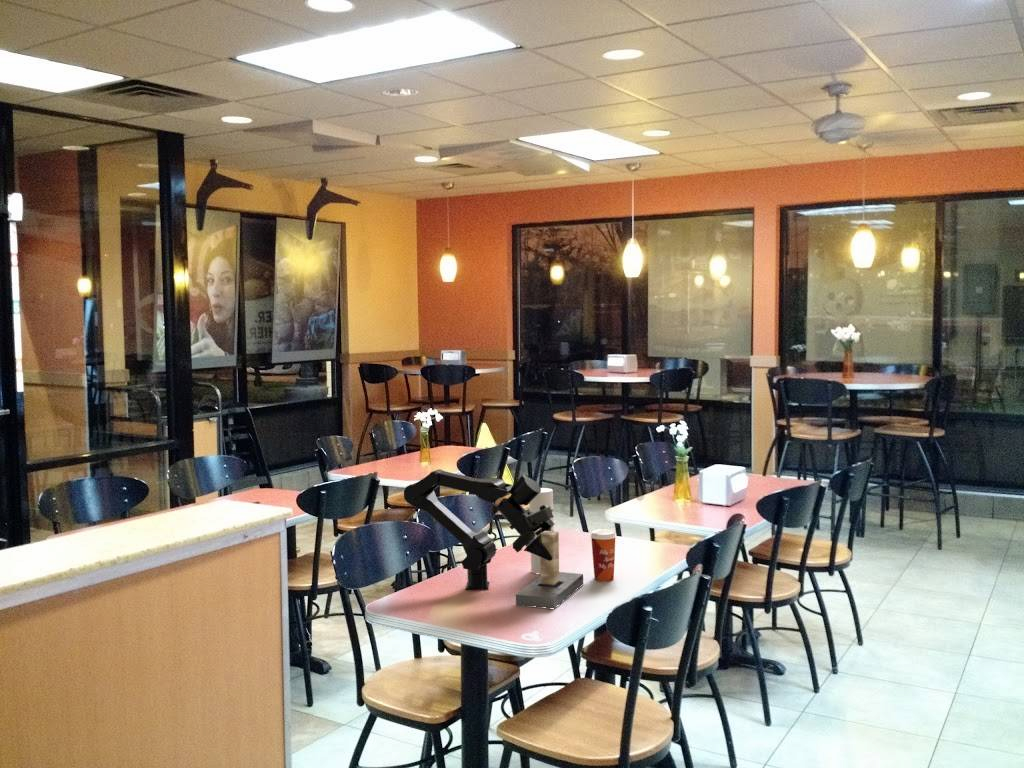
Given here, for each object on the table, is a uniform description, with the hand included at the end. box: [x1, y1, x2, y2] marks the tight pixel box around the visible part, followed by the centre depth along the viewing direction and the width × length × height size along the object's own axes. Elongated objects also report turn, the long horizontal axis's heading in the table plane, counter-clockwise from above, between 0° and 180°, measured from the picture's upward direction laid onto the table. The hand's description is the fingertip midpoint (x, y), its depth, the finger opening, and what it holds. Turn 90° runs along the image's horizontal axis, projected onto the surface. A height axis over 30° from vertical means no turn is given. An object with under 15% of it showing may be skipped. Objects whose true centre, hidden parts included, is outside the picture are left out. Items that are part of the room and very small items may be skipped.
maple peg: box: [540, 531, 560, 585], centre depth 255 cm, size 4×4×14 cm
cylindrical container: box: [528, 487, 555, 575], centre depth 278 cm, size 7×7×25 cm
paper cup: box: [589, 528, 617, 582], centre depth 269 cm, size 8×8×14 cm
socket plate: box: [515, 571, 584, 609], centre depth 256 cm, size 11×24×3 cm, turn 157°
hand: (554, 557), depth 254 cm, fingers closed on maple peg, 4 cm apart
